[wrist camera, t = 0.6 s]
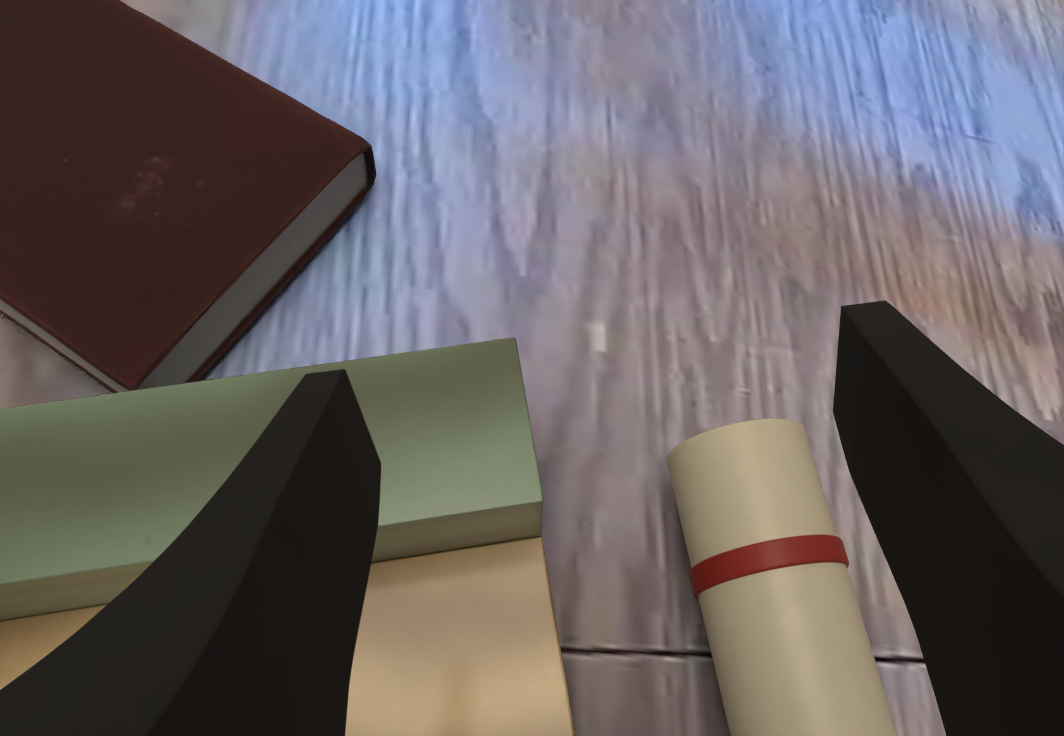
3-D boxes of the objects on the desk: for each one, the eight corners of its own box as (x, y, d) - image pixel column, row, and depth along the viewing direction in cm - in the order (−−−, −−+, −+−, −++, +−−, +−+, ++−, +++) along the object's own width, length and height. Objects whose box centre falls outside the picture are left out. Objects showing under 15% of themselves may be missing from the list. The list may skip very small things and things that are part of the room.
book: (39, -17, 41) (1, -81, 38) (384, 184, 36) (371, 129, 33) (-199, 173, 36) (-264, 118, 33) (160, 430, 32) (122, 392, 29)
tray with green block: (605, 947, 25) (627, 987, 20) (-113, 1084, 24) (-301, 1167, 18) (517, 415, 32) (515, 336, 27) (-47, 497, 31) (-171, 431, 25)
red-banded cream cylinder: (933, 971, 25) (1017, 1006, 21) (772, 1003, 25) (824, 1046, 21) (785, 458, 31) (826, 406, 27) (653, 478, 31) (675, 428, 27)
